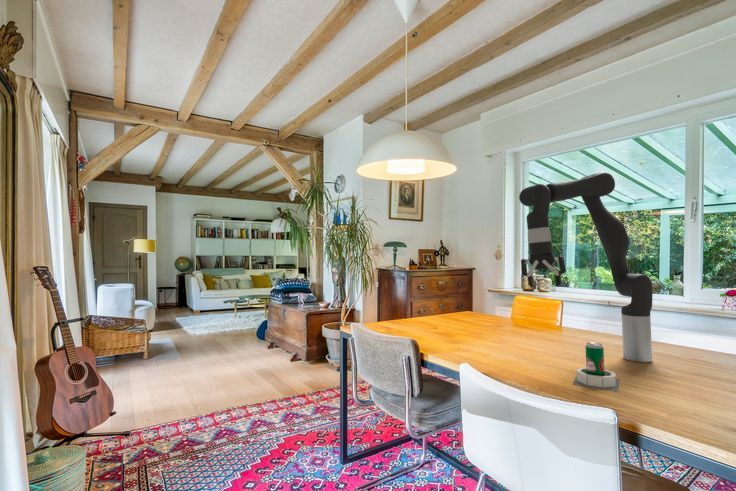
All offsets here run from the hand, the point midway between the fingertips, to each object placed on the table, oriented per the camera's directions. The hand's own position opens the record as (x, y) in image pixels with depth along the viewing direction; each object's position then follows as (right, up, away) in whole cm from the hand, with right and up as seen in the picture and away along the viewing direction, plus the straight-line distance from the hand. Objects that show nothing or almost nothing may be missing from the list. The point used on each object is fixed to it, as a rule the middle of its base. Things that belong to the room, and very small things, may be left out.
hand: (544, 286), depth 133 cm
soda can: (+10, -29, -13) cm, 33 cm away
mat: (+10, -29, -13) cm, 34 cm away
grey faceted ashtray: (+10, -29, -13) cm, 33 cm away
